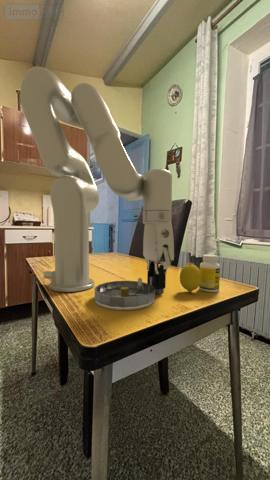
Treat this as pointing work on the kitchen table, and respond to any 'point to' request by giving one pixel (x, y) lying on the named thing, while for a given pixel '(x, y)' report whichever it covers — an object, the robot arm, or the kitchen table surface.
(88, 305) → the kitchen table surface
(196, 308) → the kitchen table surface
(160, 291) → the gear
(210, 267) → the supplement bottle
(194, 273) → the lemon
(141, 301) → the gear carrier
